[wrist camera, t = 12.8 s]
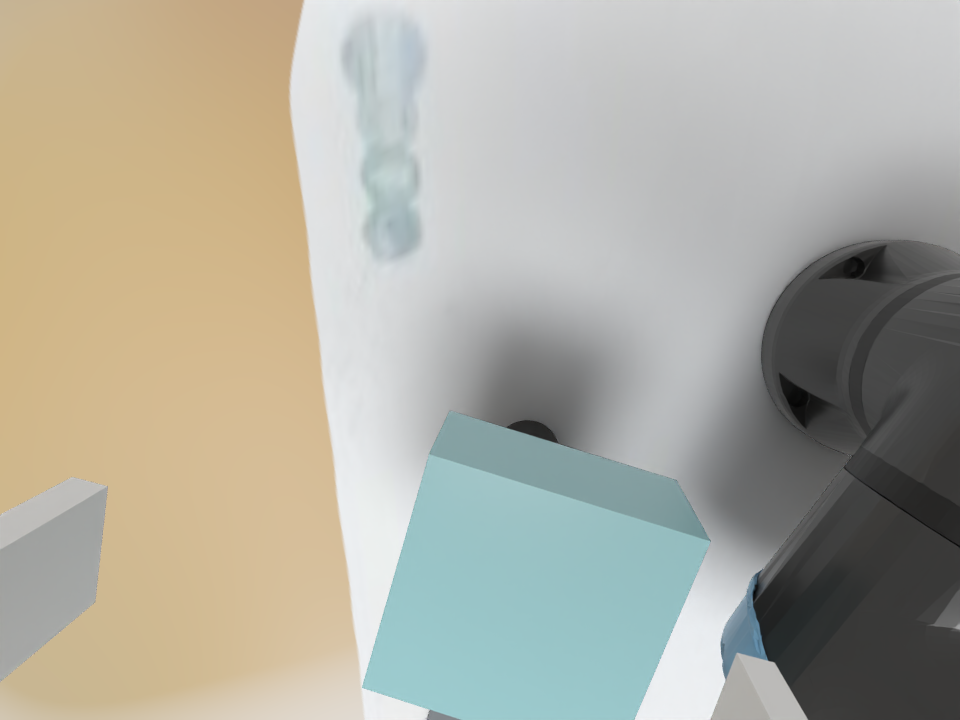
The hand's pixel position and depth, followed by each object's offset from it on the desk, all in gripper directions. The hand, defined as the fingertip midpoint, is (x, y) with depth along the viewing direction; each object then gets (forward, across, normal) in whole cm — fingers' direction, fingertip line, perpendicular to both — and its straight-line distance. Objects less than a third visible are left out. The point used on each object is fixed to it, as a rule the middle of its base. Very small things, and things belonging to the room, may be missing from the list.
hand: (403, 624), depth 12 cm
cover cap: (+18, +4, -8) cm, 20 cm away
